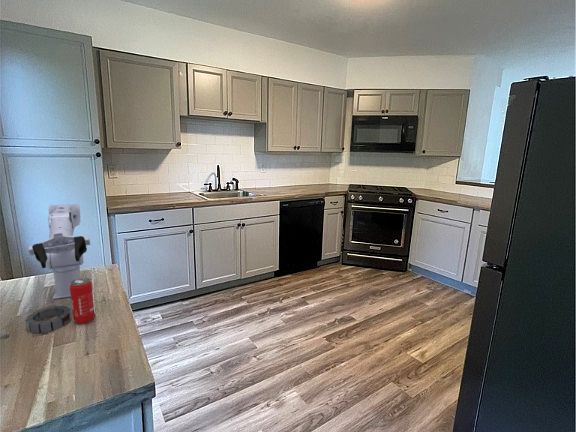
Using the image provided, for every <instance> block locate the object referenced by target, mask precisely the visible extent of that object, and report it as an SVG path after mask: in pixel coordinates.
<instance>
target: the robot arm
mask: <svg viewBox="0 0 576 432" xmlns="http://www.w3.org/2000/svg"><path fill="white" fill-rule="evenodd" d="M47 219H48V220H47V221H48V223H47V224H48V229H49V236H48V237H49V238H48V239H45V240H43V241H41V242H39V243H34V244H32V245H29V246H28V252H29V255H30V256H34V257H35V258H36V261H37V262H39V263H40V266H41V268H42V269H46V268H48V269H49V270H52V271H51V272H52V273H53V279H54V287H55V292H54V295H53V297H52V299H53V300H57V299H64V298H69V297H70V298H71V294H70V285H71V284H70V283H71V282H72V281H74V280H76V279H80V278H82V276H81V275H82V274H81V269H80V268H81V266H82V265H83V264H84V254H85V253H86V252H87V250H88V249H87V246H90V245H91V240H90V236H88V235H87V236H82V235H80V236H76V235H74V231H75V228H76V227H78V226H79V225H80V223H81V209H80V204H79V203H71V204H50V205H49V206H48V217H47Z"/></svg>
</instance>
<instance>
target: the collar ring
mask: <svg viewBox="0 0 576 432" xmlns="http://www.w3.org/2000/svg"><path fill="white" fill-rule="evenodd" d="M51 317H55V318H53V319H50V320H45V321H41V320H44V319H47V318H51ZM72 318H73V315H72V308H70V307H68V306H67V305H54V306H53V305H52V306H47V307H44V308H40V309H38V310H36V311H34V312H32V313H30V314H29V315H27V316H26V318H25V328H26V330H27V331H28V332H29V333H31V334H43V333H49V332H53V331H56V330H59V329H60V328H63V327H65V326H66V325H68V324H69V323H70V322H71V321H72Z"/></svg>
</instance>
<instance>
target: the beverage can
mask: <svg viewBox="0 0 576 432" xmlns="http://www.w3.org/2000/svg"><path fill="white" fill-rule="evenodd" d="M92 282H93V281H91V278H87V277H81V278H80V279H76V280H74V281H72V282H71V283H70V284H71V285H70V294H71V297H70V299H71V312H72V318H73V319H72V320H74V322H75V323H76V325H77V324H78V325H83V324H88V323H90V322H92V321H93V320H94V318H95V316H96V315H95V302H94V295H93V294H94V293H93V284H92Z"/></svg>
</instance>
